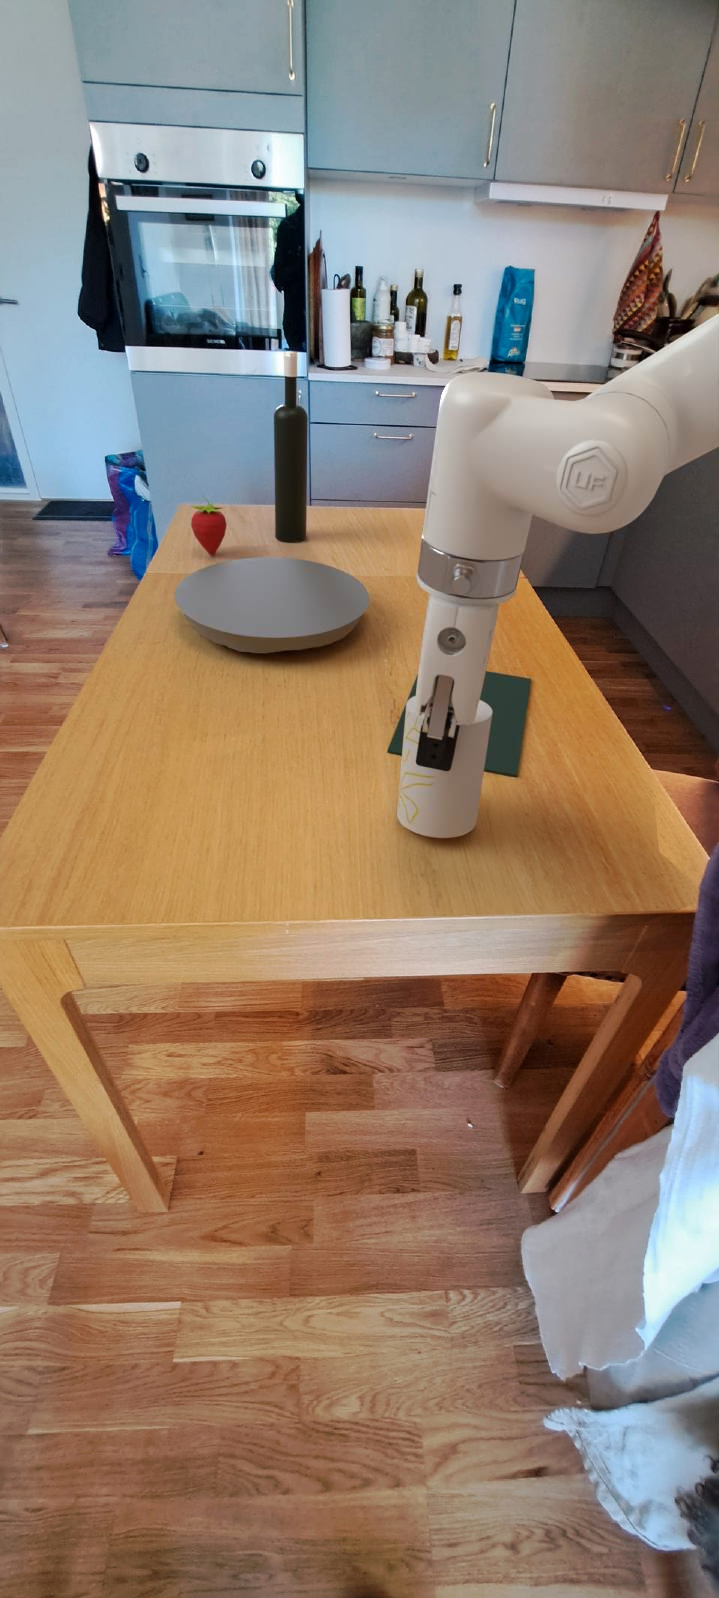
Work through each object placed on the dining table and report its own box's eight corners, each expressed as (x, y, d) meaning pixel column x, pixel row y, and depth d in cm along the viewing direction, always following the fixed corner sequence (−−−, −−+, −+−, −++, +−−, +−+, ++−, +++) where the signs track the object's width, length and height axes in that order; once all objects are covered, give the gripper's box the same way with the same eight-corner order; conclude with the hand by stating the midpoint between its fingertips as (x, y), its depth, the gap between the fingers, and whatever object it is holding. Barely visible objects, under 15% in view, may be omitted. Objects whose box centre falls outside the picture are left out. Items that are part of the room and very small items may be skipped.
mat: (530, 680, 100) (531, 678, 100) (517, 777, 82) (517, 775, 82) (422, 662, 102) (423, 660, 102) (387, 752, 85) (387, 750, 85)
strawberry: (191, 562, 125) (185, 502, 119) (196, 546, 131) (191, 488, 125) (226, 563, 126) (222, 503, 120) (230, 547, 132) (226, 489, 125)
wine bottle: (275, 531, 140) (273, 347, 121) (306, 532, 140) (308, 349, 121) (275, 542, 135) (272, 353, 116) (306, 543, 136) (308, 355, 117)
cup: (383, 805, 77) (391, 697, 71) (449, 792, 80) (462, 688, 74) (421, 844, 70) (434, 729, 65) (492, 828, 74) (509, 718, 68)
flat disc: (172, 588, 117) (169, 560, 114) (343, 580, 123) (344, 554, 120) (184, 675, 96) (181, 644, 93) (389, 660, 102) (392, 630, 99)
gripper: (511, 616, 48) (464, 824, 60) (525, 540, 60) (484, 727, 71) (400, 596, 49) (375, 805, 61) (435, 525, 61) (408, 713, 72)
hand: (434, 763), depth 66 cm, fingers closed
